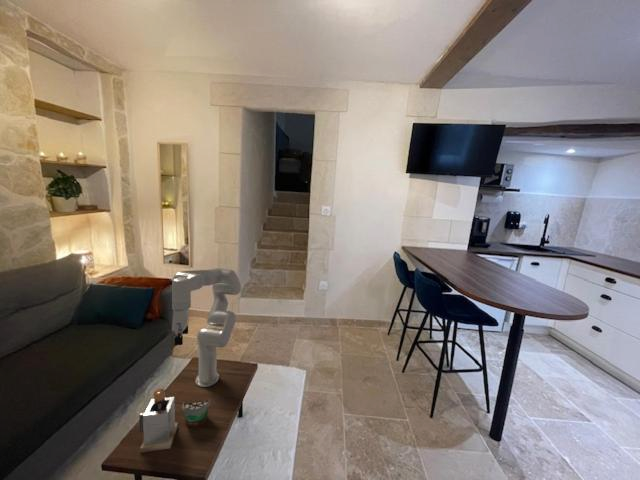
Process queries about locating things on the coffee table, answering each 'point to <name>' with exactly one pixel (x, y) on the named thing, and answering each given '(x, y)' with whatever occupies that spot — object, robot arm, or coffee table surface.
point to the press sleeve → (158, 422)
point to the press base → (160, 446)
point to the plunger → (159, 397)
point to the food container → (196, 413)
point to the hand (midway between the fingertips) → (181, 339)
